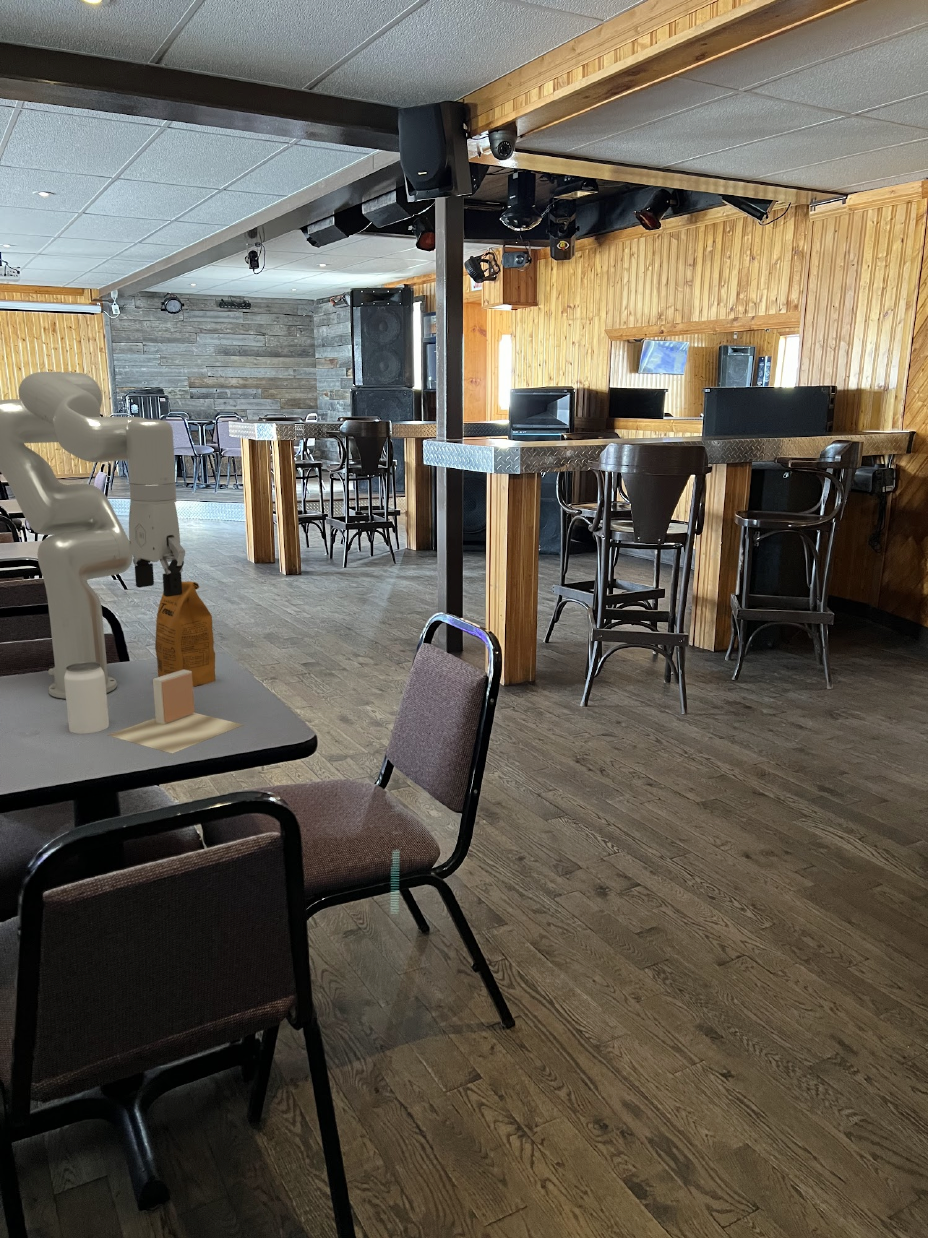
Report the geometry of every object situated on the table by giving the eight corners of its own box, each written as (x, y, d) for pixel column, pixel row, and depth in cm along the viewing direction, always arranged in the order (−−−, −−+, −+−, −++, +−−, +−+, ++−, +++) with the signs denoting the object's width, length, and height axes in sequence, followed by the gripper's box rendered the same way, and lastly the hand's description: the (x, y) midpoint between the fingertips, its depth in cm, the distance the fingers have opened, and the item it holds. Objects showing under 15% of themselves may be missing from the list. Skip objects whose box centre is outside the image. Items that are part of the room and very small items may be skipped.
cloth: (107, 740, 157) (107, 735, 156) (180, 714, 170) (180, 709, 170) (172, 759, 148) (172, 753, 148) (244, 730, 162) (243, 724, 162)
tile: (156, 722, 163) (152, 679, 161) (186, 711, 168) (183, 669, 167) (165, 724, 161) (161, 681, 160) (195, 713, 167) (192, 671, 165)
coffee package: (197, 672, 196) (190, 570, 191) (222, 686, 187) (215, 579, 182) (151, 681, 190) (142, 576, 185) (175, 695, 181) (166, 585, 176)
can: (95, 740, 157) (89, 672, 154) (61, 737, 158) (54, 670, 155) (117, 727, 163) (111, 662, 160) (84, 725, 164) (77, 660, 162)
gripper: (108, 490, 161) (115, 585, 165) (158, 499, 150) (164, 602, 154) (148, 487, 166) (154, 580, 171) (199, 496, 155) (204, 596, 159)
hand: (158, 590), depth 162 cm, fingers open, 9 cm apart
